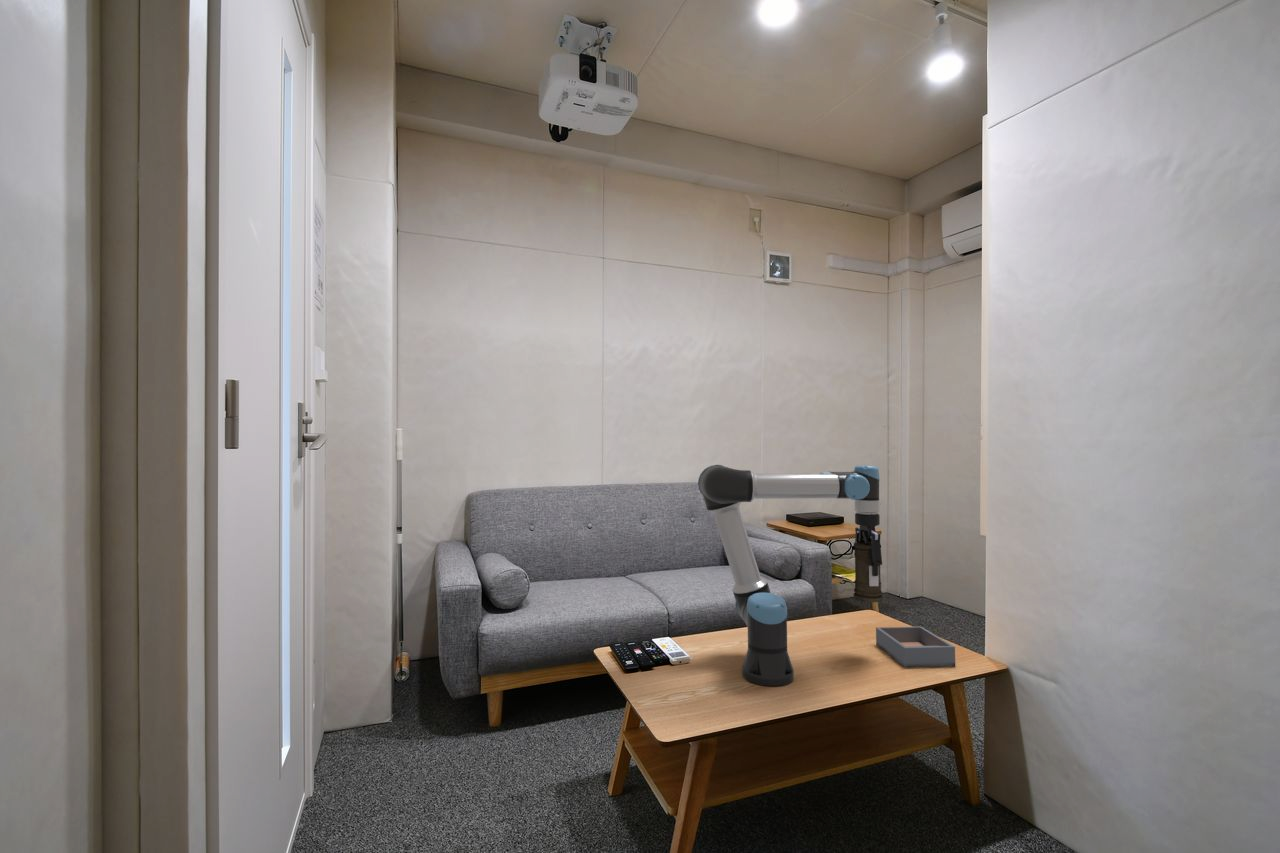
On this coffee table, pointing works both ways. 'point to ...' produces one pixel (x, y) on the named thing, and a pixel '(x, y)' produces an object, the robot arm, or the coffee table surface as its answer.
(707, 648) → the coffee table surface
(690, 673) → the coffee table surface
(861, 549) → the container
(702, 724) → the coffee table surface
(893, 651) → the walled box
